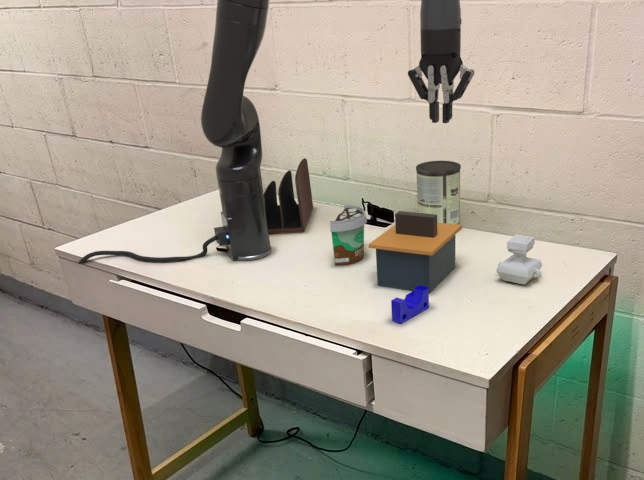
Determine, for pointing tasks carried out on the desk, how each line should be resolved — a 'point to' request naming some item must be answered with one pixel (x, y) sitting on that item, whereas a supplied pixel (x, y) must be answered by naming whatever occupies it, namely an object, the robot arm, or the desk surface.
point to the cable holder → (410, 304)
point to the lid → (415, 234)
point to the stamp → (519, 261)
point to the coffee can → (439, 190)
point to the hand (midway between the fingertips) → (440, 122)
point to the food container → (348, 235)
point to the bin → (414, 267)
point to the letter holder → (289, 202)
